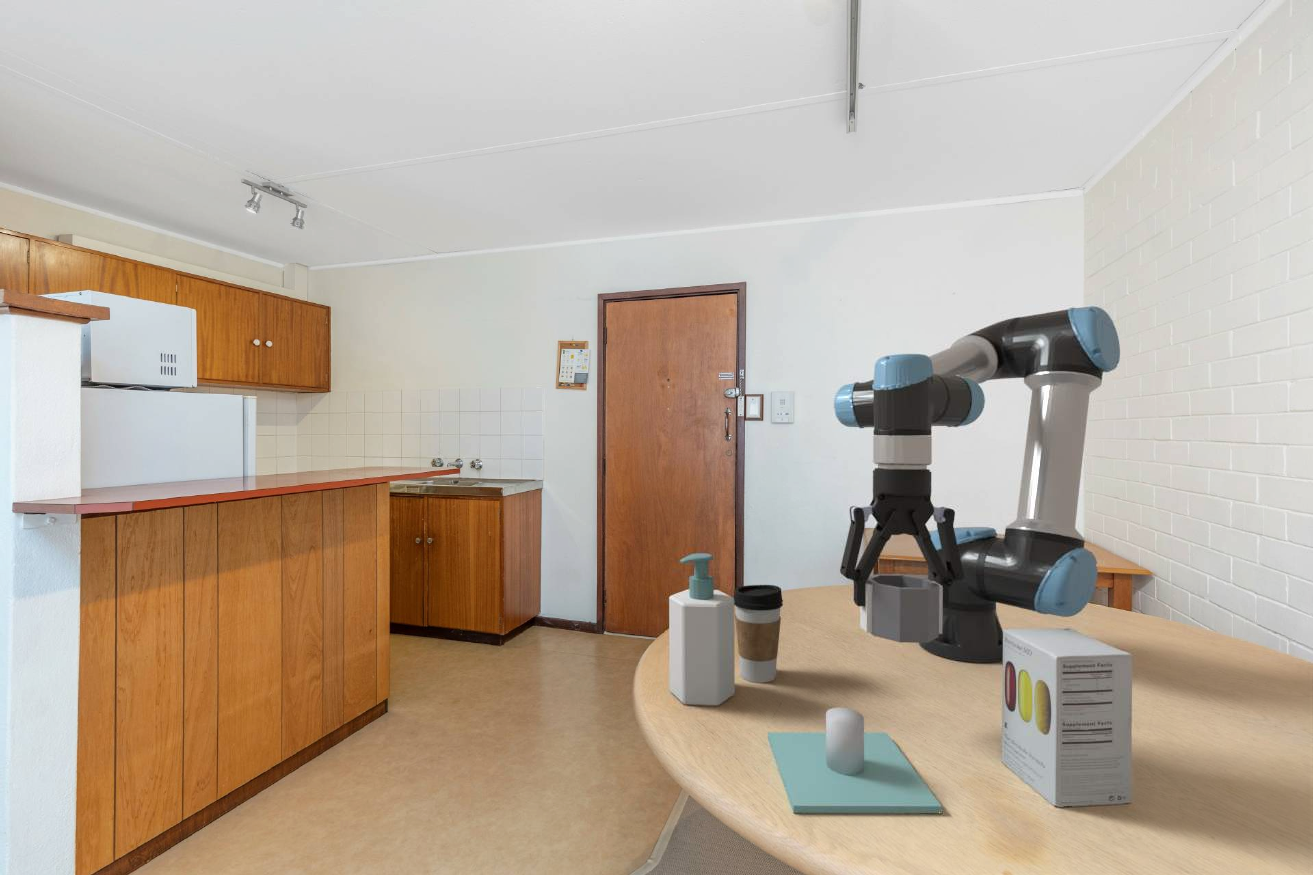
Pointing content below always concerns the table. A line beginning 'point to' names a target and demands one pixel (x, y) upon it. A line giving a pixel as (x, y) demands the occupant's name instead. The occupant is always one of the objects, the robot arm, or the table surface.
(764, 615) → the coffee cup
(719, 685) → the soap bottle
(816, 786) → the teal base with peg
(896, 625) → the hollow octagonal tube
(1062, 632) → the supplement box
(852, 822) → the table surface
